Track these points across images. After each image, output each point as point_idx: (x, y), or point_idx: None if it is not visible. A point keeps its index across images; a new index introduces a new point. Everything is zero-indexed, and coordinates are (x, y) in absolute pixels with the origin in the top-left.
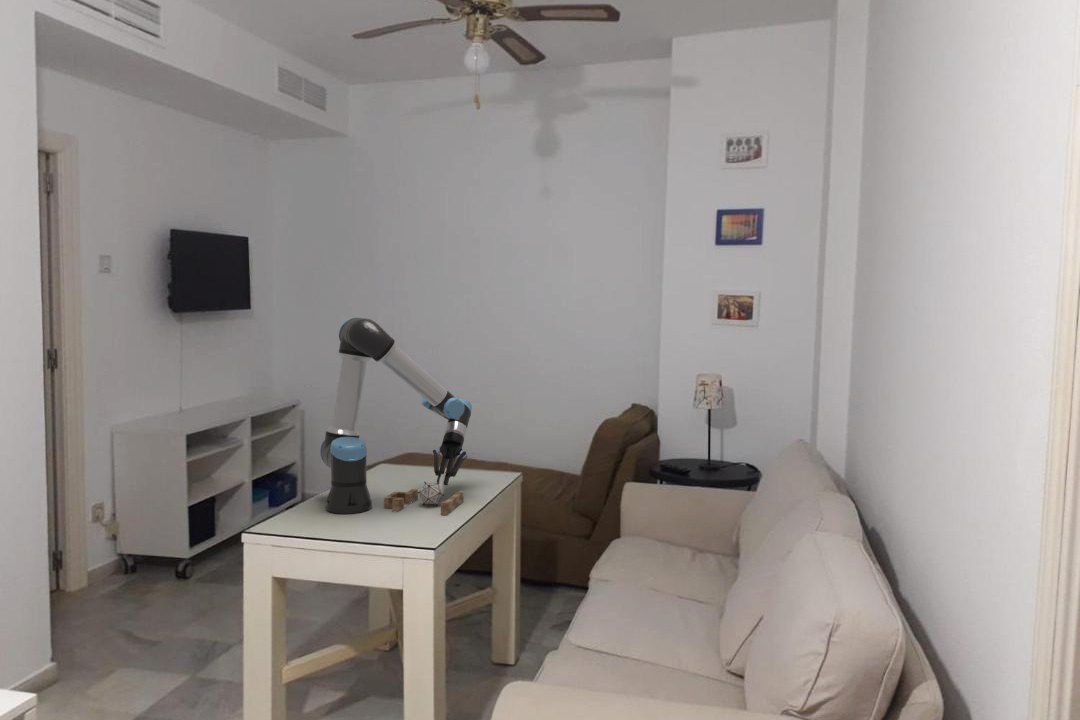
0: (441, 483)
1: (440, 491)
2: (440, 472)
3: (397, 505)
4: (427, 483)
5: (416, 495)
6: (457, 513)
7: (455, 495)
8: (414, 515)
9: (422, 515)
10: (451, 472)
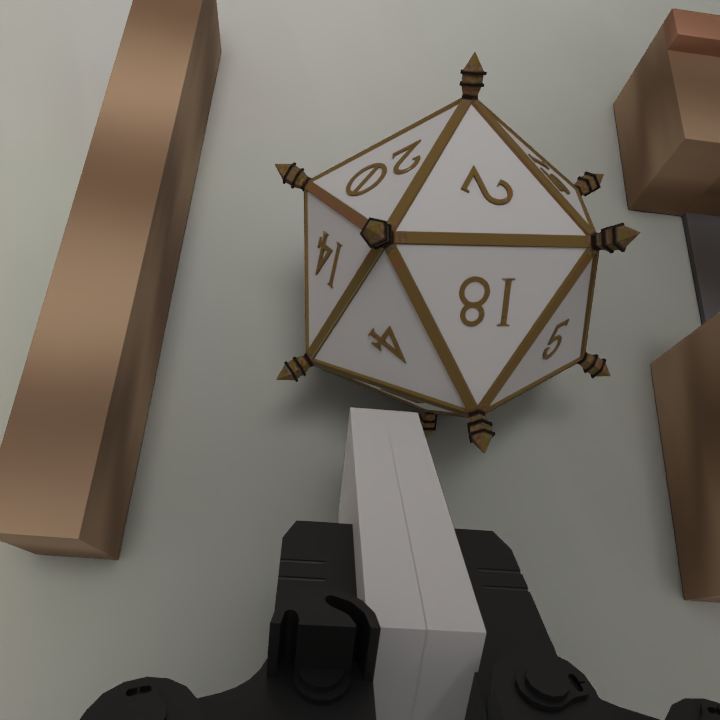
0: (379, 470)
1: (325, 296)
2: (533, 679)
3: (647, 57)
4: (564, 234)
5: (709, 542)
6: (68, 100)
7: (94, 301)
8: (440, 34)
9: (375, 36)
10: (173, 706)
